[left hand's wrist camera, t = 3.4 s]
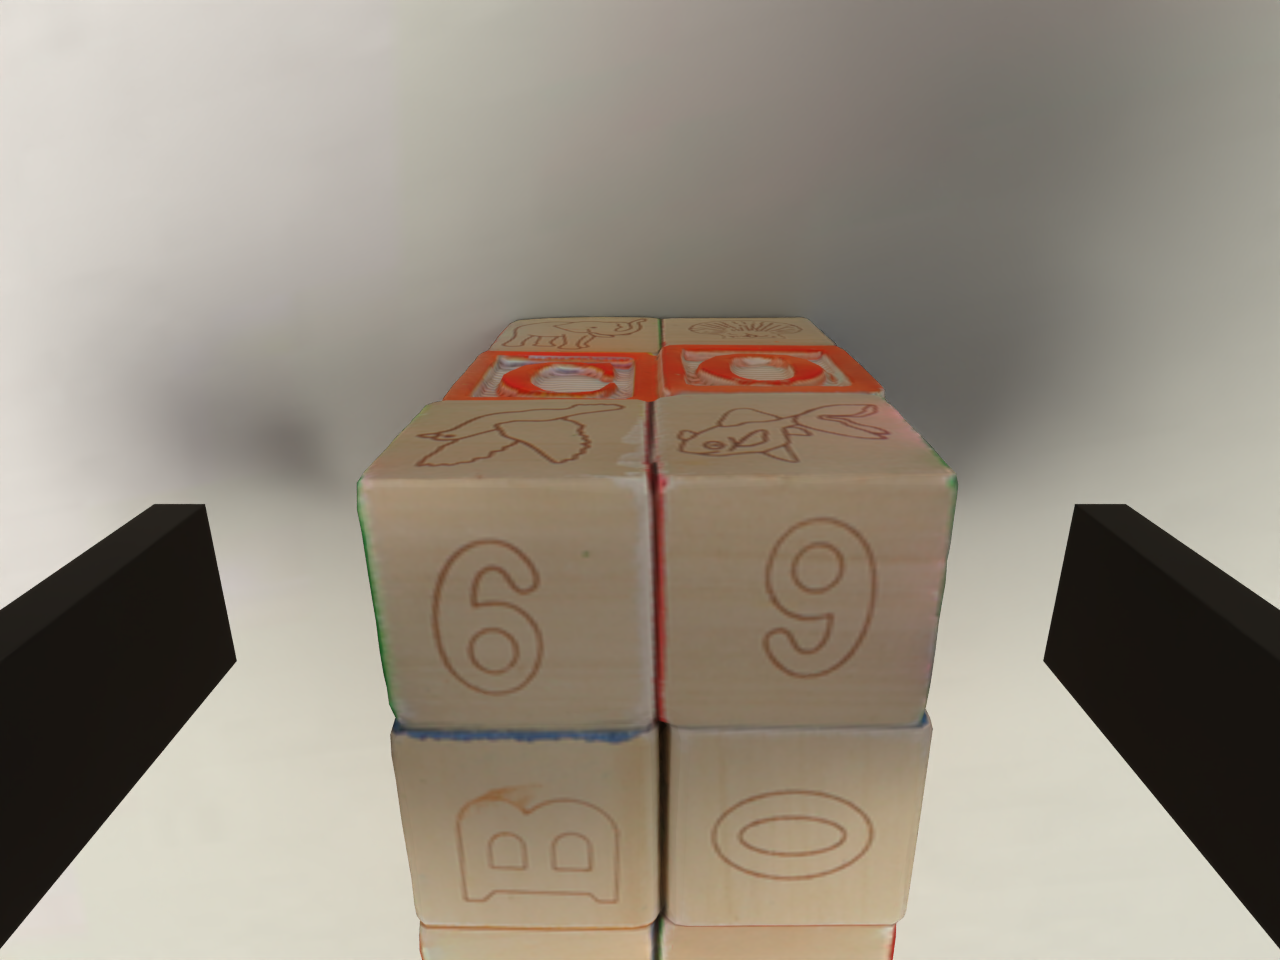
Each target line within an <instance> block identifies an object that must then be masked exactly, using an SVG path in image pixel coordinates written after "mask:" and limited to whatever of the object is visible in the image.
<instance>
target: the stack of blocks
mask: <svg viewBox="0 0 1280 960" xmlns="http://www.w3.org/2000/svg"><path fill="white" fill-rule="evenodd" d="M957 491H958V482H957V476H956V473H955V472H954V471H953V470H952V469H951V468H950V467H949V466H948V465H947V464H946V463H945V462H944V461H943V459H942V458H941V457H940V456H939V455H938V454H937V452H936V451H935V450H934V449H933V448H932V447H931V446H930V445H929V444H928V443H927V441H926V440H925V439H924V438H923V437H922V436H921V435H920V434H919V433H918V432H917V431H915V430H914V429H913V428H912V427H911V426H910V425H909V424H908V423H907V422H906V421H905V420H904V418H903V417H902V416H901V415H900V413H899V412H898V411H897V410H896V409H895V408H894V407H893V406H892V405H890V404H889V403H887V401H886V400H885V390H884V388H883V387H882V386H881V385H880V384H879V383H878V382H877V381H876V380H875V379H874V378H873V377H872V376H871V375H870V374H869V373H868V372H867V371H866V370H865V369H864V368H863V367H862V366H861V365H860V364H859V363H858V362H857V361H855V360H854V359H853V358H852V357H851V356H850V355H849V354H848V353H847V352H846V351H845V350H844V349H841V348H839V347H837V346H836V343H835V342H833V341H832V340H831V339H830V338H829V337H827V336H826V335H825V334H824V333H823V332H822V331H821V330H820V329H818V328H817V327H816V326H815V325H814V324H813V323H812V322H811V321H810V320H809V319H806V318H803V317H797V318H669V319H657V318H641V317H574V318H544V319H529V320H518V321H515V322H512V323H510V324H509V325H508V326H507V327H506V328H505V329H504V330H503V332H502V333H501V334H500V335H499V336H498V337H497V339H496V340H495V342H494V343H493V344H492V345H491V347H490V349H489V350H488V351H486V352H483V353H481V354H480V355H479V356H477V358H476V359H475V361H474V362H473V363H472V364H471V365H470V366H469V368H468V369H467V370H466V372H465V373H464V374H463V375H462V376H461V377H460V378H459V379H458V380H457V381H456V382H455V383H454V385H453V386H452V387H451V389H450V390H449V391H448V393H447V394H446V395H445V397H444V398H443V400H442V401H439V402H434V403H431V404H428V405H426V406H425V407H424V408H423V409H422V411H421V412H420V413H419V414H418V415H417V416H416V417H415V418H413V420H412V421H411V423H410V424H409V425H408V426H407V427H406V428H404V429H403V431H402V432H401V433H400V434H399V435H398V436H397V437H396V438H395V439H394V440H393V441H392V443H391V444H390V445H389V446H388V448H387V449H386V450H385V451H384V452H383V453H382V454H381V455H380V456H379V457H378V458H377V459H376V460H375V461H374V462H373V463H372V464H371V465H370V466H369V467H368V468H367V469H366V470H365V472H364V473H363V475H362V476H361V478H360V479H359V481H358V482H357V511H358V516H359V521H360V526H361V531H362V537H363V544H364V550H365V557H366V563H367V570H368V576H369V582H370V588H371V594H372V600H373V606H374V612H375V618H376V625H377V633H378V641H379V649H380V656H381V661H382V667H383V673H384V678H385V682H386V686H387V692H388V699H389V705H390V707H391V709H392V711H393V713H394V715H395V717H396V718H395V721H394V725H393V728H392V731H391V734H390V736H391V753H392V760H393V766H394V772H395V777H396V784H397V791H398V798H399V805H400V812H401V819H402V826H403V831H404V837H405V843H406V849H407V855H408V860H409V866H410V872H411V878H412V886H413V895H414V903H415V909H416V914H417V916H418V918H419V919H420V933H419V941H420V954H421V957H422V960H893V953H894V946H895V938H896V923H897V922H898V921H899V920H901V919H902V918H903V917H904V915H905V912H906V908H907V901H908V895H909V888H910V881H911V875H912V868H913V861H914V855H915V848H916V841H917V835H918V828H919V821H920V814H921V807H922V800H923V793H924V786H925V779H926V772H927V765H928V758H929V751H930V744H931V737H932V730H933V728H932V724H931V720H930V717H929V715H928V713H927V711H926V709H925V708H926V704H927V698H928V693H929V688H930V683H931V676H932V669H933V663H934V656H935V649H936V640H937V632H938V623H939V617H940V611H941V605H942V599H943V593H944V588H945V581H946V567H947V558H948V554H949V549H950V543H951V536H952V528H953V521H954V514H955V506H956V499H957Z"/></svg>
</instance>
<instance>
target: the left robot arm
mask: <svg viewBox="0 0 1280 960" xmlns="http://www.w3.org/2000/svg"><path fill="white" fill-rule="evenodd" d="M236 661H237V660H236V655H235V650H234V645H233V640H232V635H231V630H230V625H229V620H228V615H227V610H226V606H225V601H224V596H223V591H222V586H221V581H220V576H219V571H218V566H217V561H216V556H215V551H214V546H213V541H212V536H211V531H210V527H209V522H208V517H207V512H206V507H205V504H154V505H152V506H151V507H149V508H148V509H146V510H145V511H144V512H142V513H141V514H139V515H138V516H136V517H135V518H133V519H132V520H130V521H129V522H128V523H126V524H125V525H123V526H122V527H120V528H119V529H117V530H116V531H115V532H113V533H112V534H110V535H109V536H107V537H106V538H104V539H103V540H101V541H100V542H99V543H97V544H96V545H94V546H93V547H91V548H90V549H88V550H87V551H85V552H84V553H83V554H81V555H80V556H78V557H77V558H75V559H74V560H72V561H71V562H69V563H68V564H67V565H65V566H64V567H62V568H61V569H59V570H58V571H56V572H55V573H53V574H52V575H51V576H49V577H48V578H46V579H45V580H43V581H42V582H40V583H39V584H37V585H36V586H35V587H33V588H32V589H30V590H29V591H27V592H26V593H24V594H23V595H22V596H20V597H19V598H17V599H16V600H14V601H13V602H11V603H10V604H8V605H7V606H6V607H4V608H3V609H1V610H0V949H1V947H2V946H3V945H4V944H5V942H6V941H7V940H8V939H9V938H10V936H11V935H12V934H13V933H14V931H15V930H16V929H17V928H18V927H19V925H20V924H21V923H22V922H23V921H24V919H25V918H26V917H27V916H28V914H29V913H30V912H31V911H32V910H33V908H34V907H35V906H36V905H37V903H38V902H39V901H40V900H41V899H42V897H43V896H44V895H45V894H46V893H47V891H48V890H49V889H50V888H51V886H52V885H53V884H54V883H55V882H56V880H57V879H58V878H59V877H60V875H61V874H62V873H63V872H64V871H65V869H66V868H67V867H68V866H69V865H70V863H71V862H72V861H73V860H74V858H75V857H76V856H77V855H78V854H79V852H80V851H81V850H82V849H83V847H84V846H85V845H86V844H87V843H88V841H89V840H90V839H91V838H92V837H93V835H94V834H95V833H96V832H97V830H98V829H99V828H100V827H101V826H102V824H103V823H104V822H105V821H106V819H107V818H108V817H109V816H110V815H111V813H112V812H113V811H114V810H115V809H116V807H117V806H118V805H119V804H120V802H121V801H122V800H123V799H124V798H125V796H126V795H127V794H128V793H129V791H130V790H131V789H132V788H133V787H134V785H135V784H136V783H137V782H138V781H139V779H140V778H141V777H142V776H143V774H144V773H145V772H146V771H147V770H148V768H149V767H150V766H151V765H152V763H153V762H154V761H155V760H156V759H157V757H158V756H159V755H160V754H161V752H162V751H163V750H164V749H165V748H166V746H167V745H168V744H169V743H170V742H171V740H172V739H173V738H174V737H175V735H176V734H177V733H178V732H179V731H180V729H181V728H182V727H183V726H184V724H185V723H186V722H187V721H188V720H189V718H190V717H191V716H192V715H193V714H194V712H195V711H196V710H197V709H198V707H199V706H200V705H201V704H202V703H203V701H204V700H205V699H206V698H207V696H208V695H209V694H210V693H211V692H212V690H213V689H214V688H215V687H216V686H217V684H218V683H219V682H220V681H221V679H222V678H223V677H224V676H225V675H226V673H227V672H228V671H229V670H230V668H231V667H232V666H233V665H234V664H235V662H236ZM1043 661H1044V662H1045V664H1046V665H1047V666H1048V667H1049V668H1050V670H1051V671H1052V672H1053V673H1054V675H1055V676H1056V677H1057V678H1058V679H1059V681H1060V682H1061V683H1062V684H1063V686H1064V687H1065V688H1066V689H1067V690H1068V692H1069V693H1070V694H1071V695H1072V696H1073V698H1074V699H1075V700H1076V701H1077V703H1078V704H1079V705H1080V706H1081V707H1082V709H1083V710H1084V711H1085V712H1086V714H1087V715H1088V716H1089V717H1090V718H1091V720H1092V721H1093V722H1094V723H1095V724H1096V726H1097V727H1098V728H1099V729H1100V731H1101V732H1102V733H1103V734H1104V735H1105V737H1106V738H1107V739H1108V740H1109V742H1110V743H1111V744H1112V745H1113V746H1114V748H1115V749H1116V750H1117V751H1118V752H1119V754H1120V755H1121V756H1122V757H1123V759H1124V760H1125V761H1126V762H1127V763H1128V765H1129V766H1130V767H1131V768H1132V770H1133V771H1134V772H1135V773H1136V774H1137V776H1138V777H1139V778H1140V779H1141V781H1142V782H1143V783H1144V784H1145V785H1146V787H1147V788H1148V789H1149V790H1150V791H1151V793H1152V794H1153V795H1154V796H1155V798H1156V799H1157V800H1158V801H1159V802H1160V804H1161V805H1162V806H1163V807H1164V809H1165V810H1166V811H1167V812H1168V813H1169V815H1170V816H1171V817H1172V818H1173V819H1174V821H1175V822H1176V823H1177V824H1178V826H1179V827H1180V828H1181V829H1182V830H1183V832H1184V833H1185V834H1186V835H1187V837H1188V838H1189V839H1190V840H1191V841H1192V843H1193V844H1194V845H1195V846H1196V847H1197V849H1198V850H1199V851H1200V852H1201V854H1202V855H1203V856H1204V857H1205V858H1206V860H1207V861H1208V862H1209V863H1210V865H1211V866H1212V867H1213V868H1214V869H1215V871H1216V872H1217V873H1218V874H1219V875H1220V877H1221V878H1222V879H1223V880H1224V882H1225V883H1226V884H1227V885H1228V886H1229V888H1230V889H1231V890H1232V891H1233V893H1234V894H1235V895H1236V896H1237V897H1238V899H1239V900H1240V901H1241V902H1242V903H1243V905H1244V906H1245V907H1246V908H1247V910H1248V911H1249V912H1250V913H1251V914H1252V916H1253V917H1254V918H1255V919H1256V921H1257V922H1258V923H1259V924H1260V925H1261V927H1262V928H1263V929H1264V930H1265V931H1266V933H1267V934H1268V935H1269V936H1270V938H1271V939H1272V940H1273V941H1274V942H1275V944H1276V945H1277V946H1278V947H1279V949H1280V610H1279V609H1277V608H1276V607H1274V606H1273V605H1272V604H1270V603H1269V602H1267V601H1266V600H1264V599H1263V598H1261V597H1260V596H1258V595H1257V594H1256V593H1254V592H1253V591H1251V590H1250V589H1248V588H1247V587H1245V586H1244V585H1243V584H1241V583H1240V582H1238V581H1237V580H1235V579H1234V578H1232V577H1231V576H1229V575H1228V574H1227V573H1225V572H1224V571H1222V570H1221V569H1219V568H1218V567H1216V566H1215V565H1213V564H1212V563H1211V562H1209V561H1208V560H1206V559H1205V558H1203V557H1202V556H1200V555H1199V554H1197V553H1196V552H1195V551H1193V550H1192V549H1190V548H1189V547H1187V546H1186V545H1184V544H1183V543H1181V542H1180V541H1179V540H1177V539H1176V538H1174V537H1173V536H1171V535H1170V534H1168V533H1167V532H1165V531H1164V530H1163V529H1161V528H1160V527H1158V526H1157V525H1155V524H1154V523H1152V522H1151V521H1150V520H1148V519H1147V518H1145V517H1144V516H1142V515H1141V514H1139V513H1138V512H1136V511H1135V510H1134V509H1132V508H1131V507H1129V506H1128V505H1126V504H1075V507H1074V512H1073V517H1072V522H1071V527H1070V531H1069V536H1068V541H1067V546H1066V551H1065V556H1064V561H1063V566H1062V571H1061V576H1060V581H1059V586H1058V591H1057V596H1056V601H1055V606H1054V610H1053V615H1052V620H1051V625H1050V630H1049V635H1048V640H1047V645H1046V650H1045V655H1044V660H1043Z"/></svg>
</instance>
